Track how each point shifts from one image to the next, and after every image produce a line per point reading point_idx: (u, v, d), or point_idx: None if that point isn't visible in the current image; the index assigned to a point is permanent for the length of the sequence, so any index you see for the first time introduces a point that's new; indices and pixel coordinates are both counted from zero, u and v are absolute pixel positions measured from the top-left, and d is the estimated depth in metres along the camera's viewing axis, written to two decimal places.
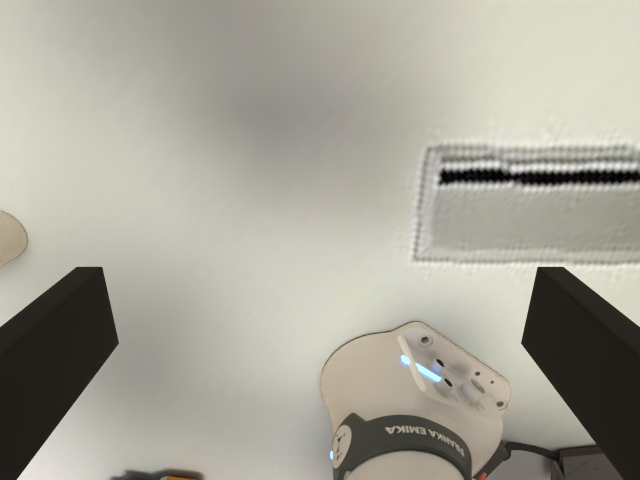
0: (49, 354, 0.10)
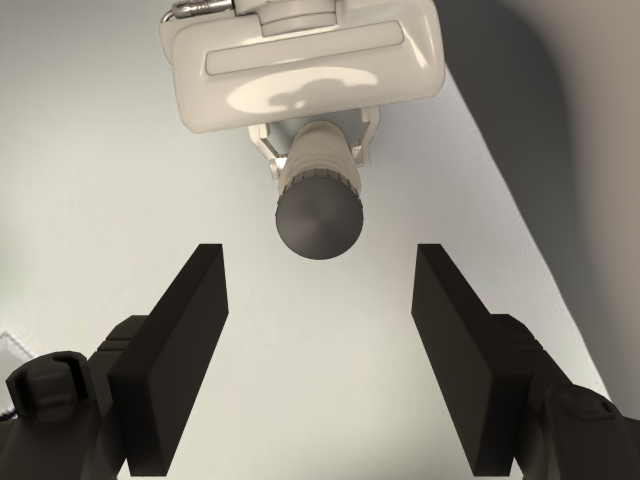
0: (201, 313, 0.11)
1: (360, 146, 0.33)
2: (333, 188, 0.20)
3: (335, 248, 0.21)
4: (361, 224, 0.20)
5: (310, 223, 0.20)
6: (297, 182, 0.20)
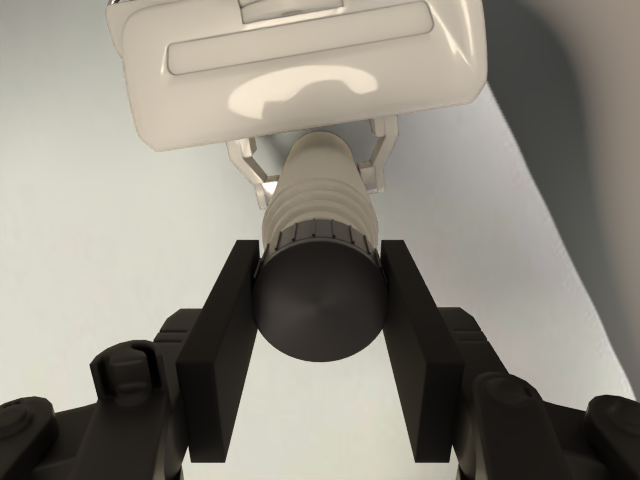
0: (246, 307, 0.12)
1: (373, 167, 0.25)
2: (342, 258, 0.12)
3: (345, 346, 0.13)
4: (386, 311, 0.13)
5: (305, 310, 0.13)
6: (284, 248, 0.12)
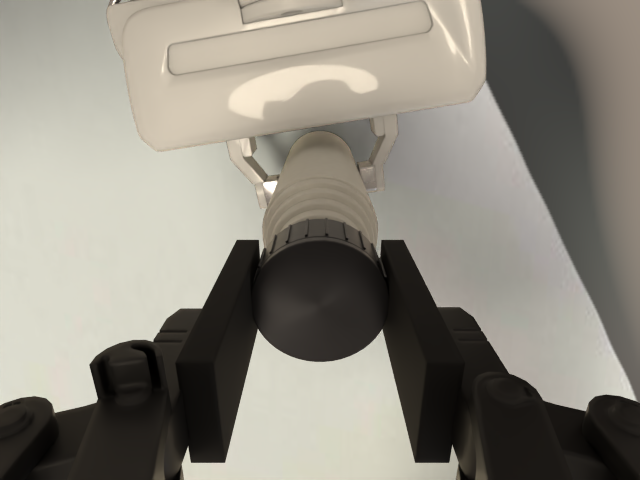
0: (246, 307, 0.12)
1: (373, 166, 0.25)
2: (269, 324, 0.13)
3: (335, 256, 0.12)
4: (274, 258, 0.12)
5: (334, 310, 0.13)
6: None
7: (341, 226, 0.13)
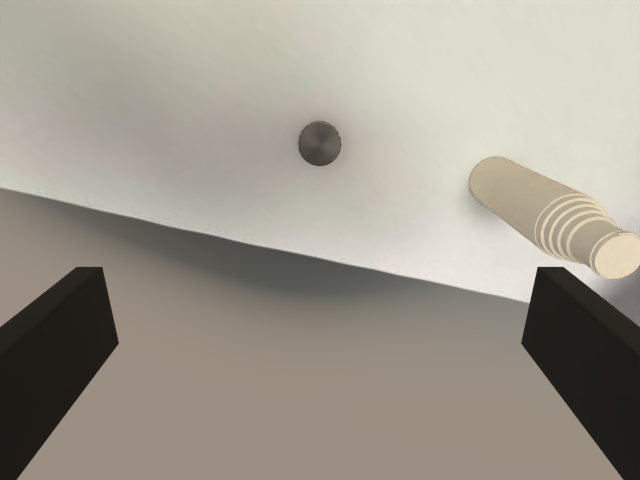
0: (49, 354, 0.10)
1: None
2: (312, 129, 0.42)
3: (336, 148, 0.42)
4: (334, 130, 0.42)
5: (318, 149, 0.42)
6: (299, 141, 0.42)
7: None
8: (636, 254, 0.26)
